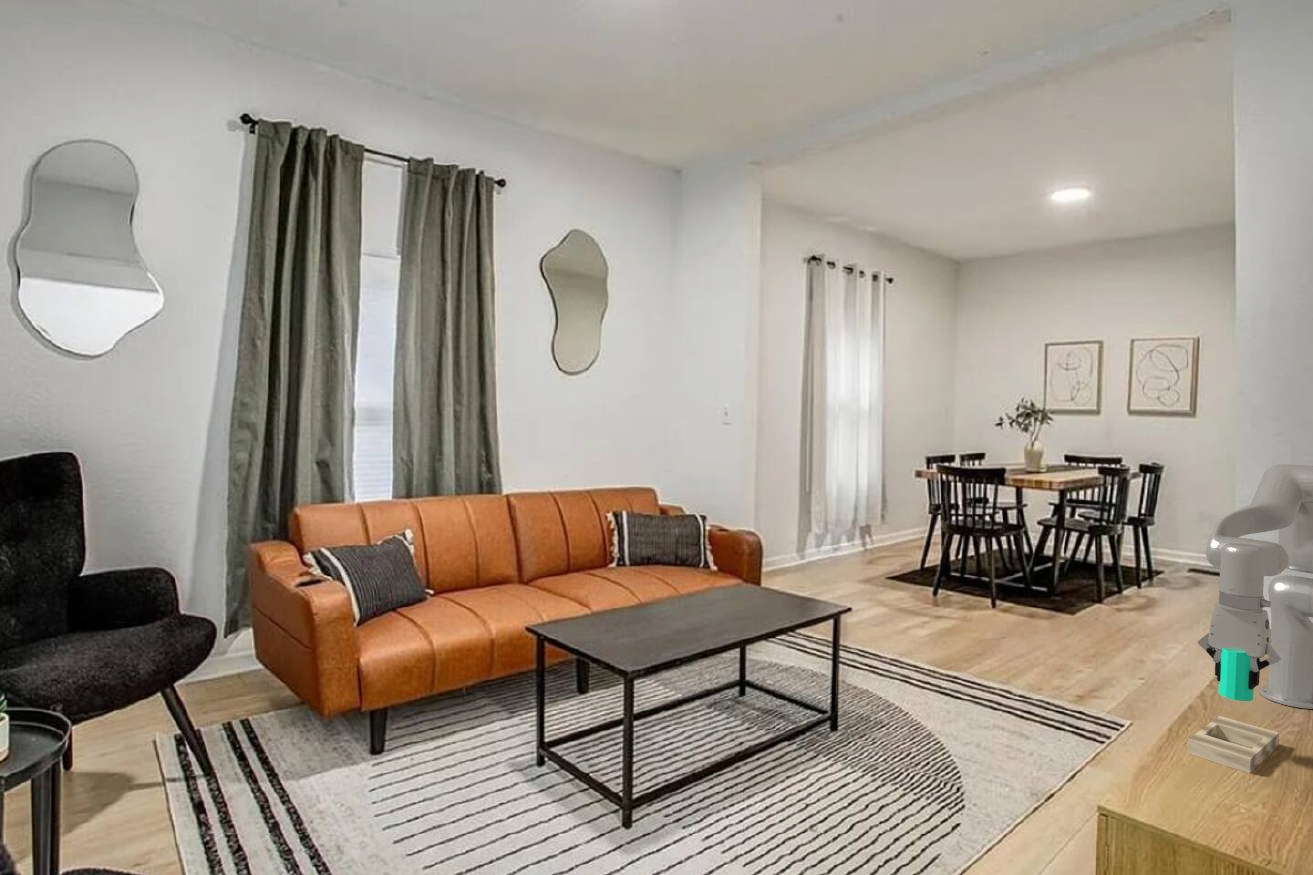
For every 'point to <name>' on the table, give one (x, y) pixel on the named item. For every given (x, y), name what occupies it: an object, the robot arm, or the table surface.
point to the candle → (1235, 676)
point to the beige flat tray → (1231, 753)
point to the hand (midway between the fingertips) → (1236, 682)
